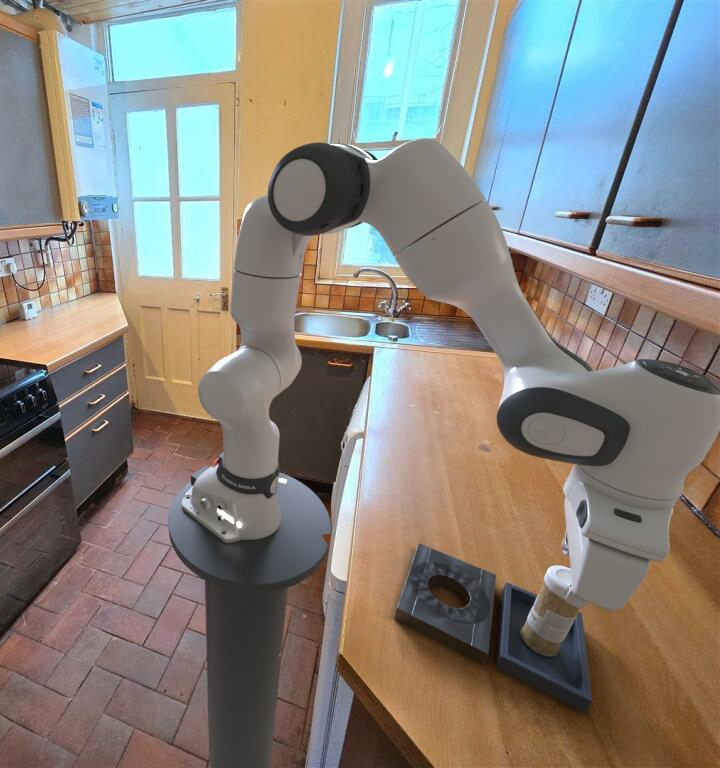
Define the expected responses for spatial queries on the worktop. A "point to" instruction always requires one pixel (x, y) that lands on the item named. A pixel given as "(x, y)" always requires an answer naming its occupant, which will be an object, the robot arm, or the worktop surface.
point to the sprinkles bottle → (550, 614)
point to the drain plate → (443, 622)
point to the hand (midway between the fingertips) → (570, 575)
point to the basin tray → (549, 674)
